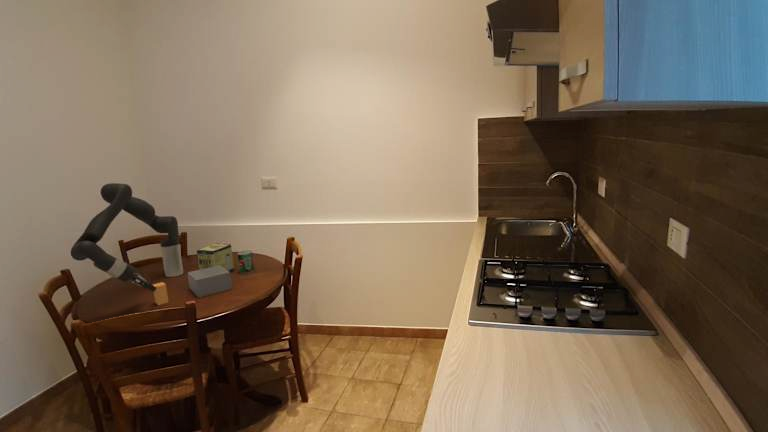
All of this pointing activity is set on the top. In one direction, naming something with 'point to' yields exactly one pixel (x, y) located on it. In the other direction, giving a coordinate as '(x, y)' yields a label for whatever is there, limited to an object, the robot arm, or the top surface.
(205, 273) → the storage box
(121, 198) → the robot arm
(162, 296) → the orange block
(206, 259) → the protein box
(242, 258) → the canned tomato
